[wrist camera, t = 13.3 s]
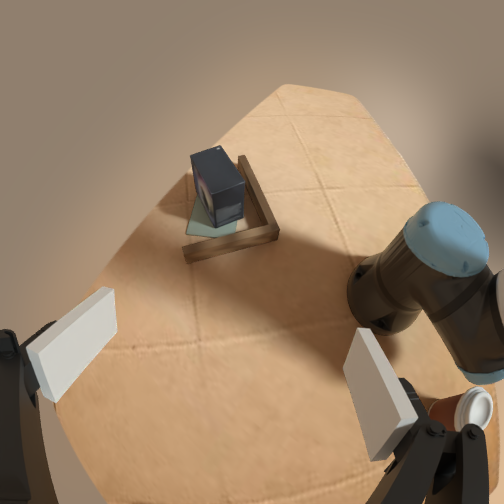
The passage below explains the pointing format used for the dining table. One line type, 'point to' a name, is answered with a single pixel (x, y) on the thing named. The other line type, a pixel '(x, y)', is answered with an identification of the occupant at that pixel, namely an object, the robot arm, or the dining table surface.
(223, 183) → the small box
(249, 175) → the walnut corner fence
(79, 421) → the dining table surface
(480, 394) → the coffee cup
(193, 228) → the pad
